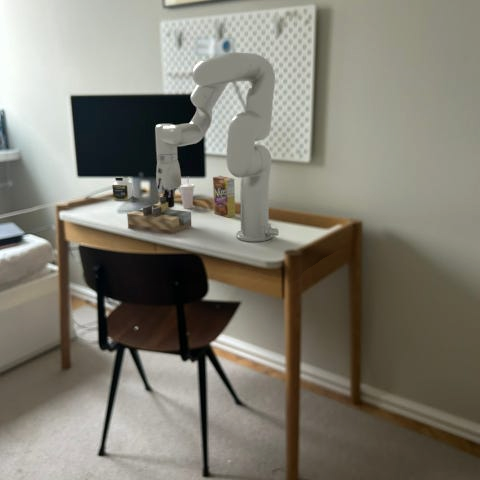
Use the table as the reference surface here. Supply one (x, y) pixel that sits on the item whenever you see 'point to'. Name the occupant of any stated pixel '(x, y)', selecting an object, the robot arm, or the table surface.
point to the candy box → (224, 196)
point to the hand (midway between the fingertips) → (169, 206)
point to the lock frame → (159, 220)
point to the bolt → (162, 203)
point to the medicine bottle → (122, 189)
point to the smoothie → (187, 194)
